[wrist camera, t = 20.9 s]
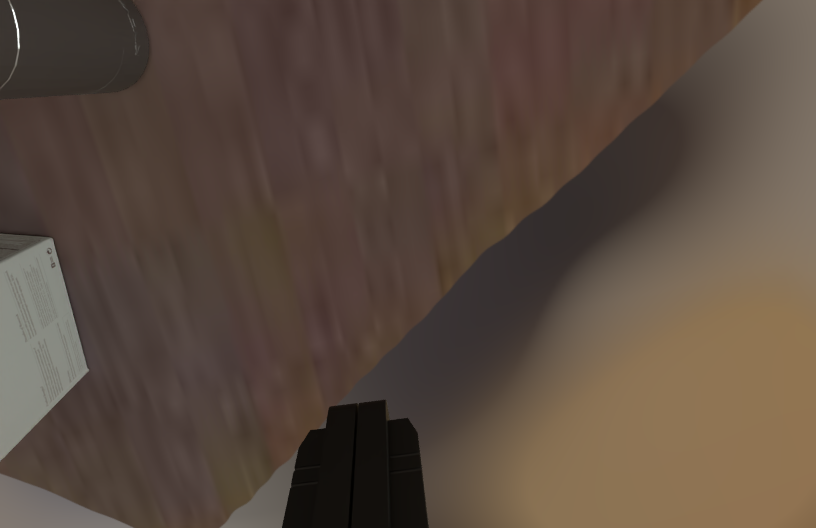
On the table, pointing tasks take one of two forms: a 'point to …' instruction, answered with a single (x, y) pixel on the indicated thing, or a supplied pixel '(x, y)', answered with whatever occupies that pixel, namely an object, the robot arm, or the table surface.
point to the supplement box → (33, 336)
